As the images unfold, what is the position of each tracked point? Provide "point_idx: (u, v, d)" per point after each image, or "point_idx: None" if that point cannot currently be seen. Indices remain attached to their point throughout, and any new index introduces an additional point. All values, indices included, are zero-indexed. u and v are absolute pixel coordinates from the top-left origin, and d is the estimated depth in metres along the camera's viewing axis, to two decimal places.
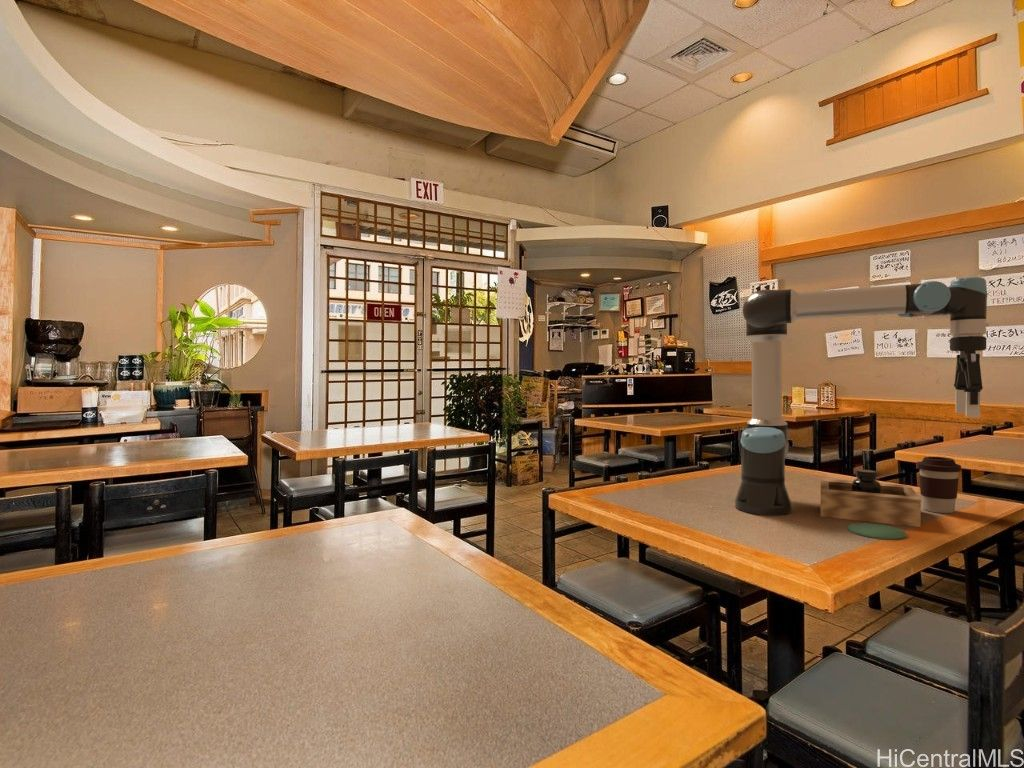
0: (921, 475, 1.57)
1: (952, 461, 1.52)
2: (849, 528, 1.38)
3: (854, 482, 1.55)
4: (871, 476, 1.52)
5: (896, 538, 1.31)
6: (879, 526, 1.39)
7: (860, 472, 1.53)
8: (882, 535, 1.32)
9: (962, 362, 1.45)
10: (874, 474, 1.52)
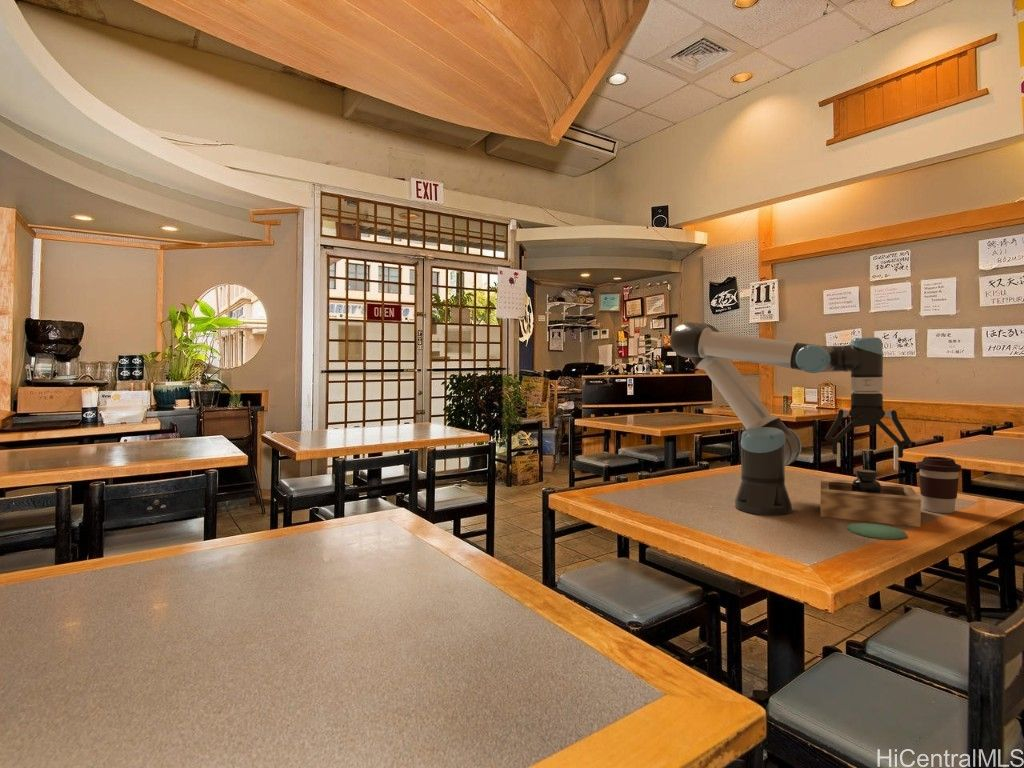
0: (921, 475, 1.57)
1: (952, 461, 1.52)
2: (849, 528, 1.38)
3: (854, 482, 1.55)
4: (871, 476, 1.52)
5: (896, 538, 1.31)
6: (879, 526, 1.39)
7: (860, 472, 1.53)
8: (882, 535, 1.32)
9: None
10: (874, 474, 1.52)
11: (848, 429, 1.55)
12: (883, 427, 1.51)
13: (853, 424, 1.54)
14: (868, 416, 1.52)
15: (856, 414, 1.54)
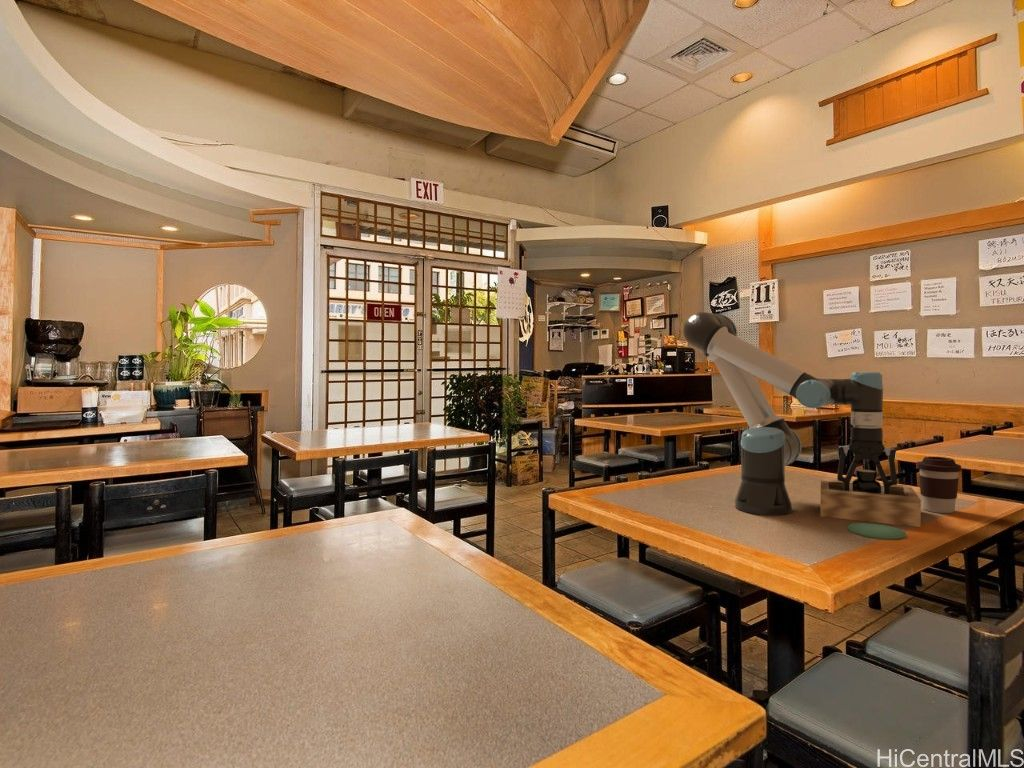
0: (921, 475, 1.57)
1: (952, 461, 1.52)
2: (849, 528, 1.38)
3: (854, 482, 1.55)
4: (871, 476, 1.52)
5: (896, 538, 1.31)
6: (879, 526, 1.39)
7: (860, 472, 1.53)
8: (882, 535, 1.32)
9: None
10: (874, 474, 1.52)
11: (854, 466, 1.54)
12: (877, 464, 1.52)
13: (857, 460, 1.54)
14: (868, 449, 1.53)
15: (856, 447, 1.54)
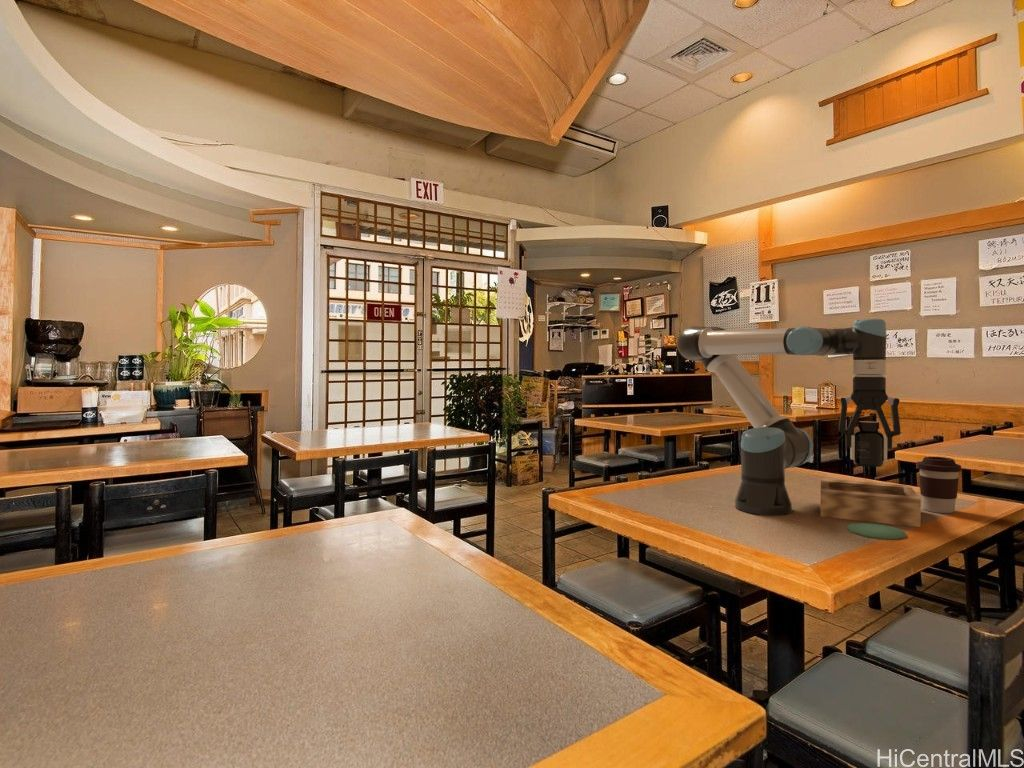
0: (921, 475, 1.57)
1: (952, 461, 1.52)
2: (849, 528, 1.38)
3: (856, 433, 1.50)
4: (874, 426, 1.47)
5: (896, 538, 1.31)
6: (879, 526, 1.39)
7: (863, 423, 1.49)
8: (882, 535, 1.32)
9: None
10: (877, 424, 1.47)
11: (857, 417, 1.49)
12: (880, 414, 1.47)
13: (860, 410, 1.49)
14: (871, 399, 1.48)
15: (859, 397, 1.49)
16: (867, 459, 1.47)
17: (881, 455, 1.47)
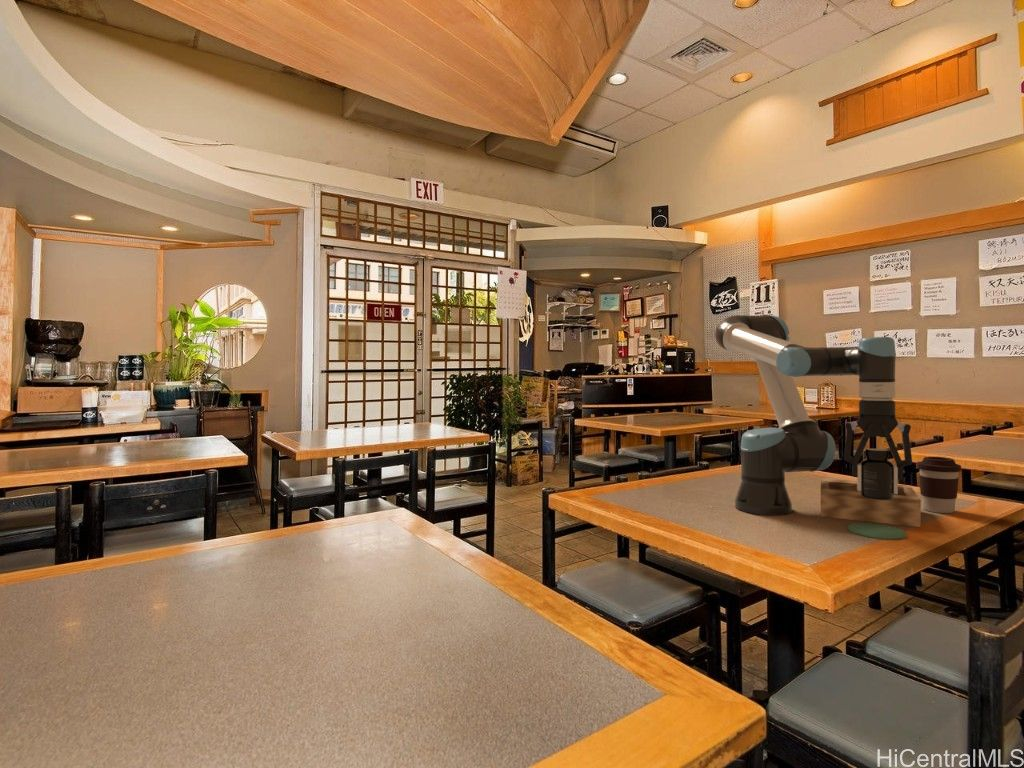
0: (921, 475, 1.57)
1: (952, 461, 1.52)
2: (849, 528, 1.38)
3: (863, 462, 1.36)
4: (882, 455, 1.34)
5: (896, 538, 1.31)
6: (879, 526, 1.39)
7: (870, 451, 1.35)
8: (882, 535, 1.32)
9: None
10: (886, 453, 1.34)
11: (863, 444, 1.36)
12: (889, 441, 1.34)
13: (866, 437, 1.35)
14: (878, 425, 1.35)
15: (865, 423, 1.36)
16: (874, 491, 1.34)
17: (891, 487, 1.33)
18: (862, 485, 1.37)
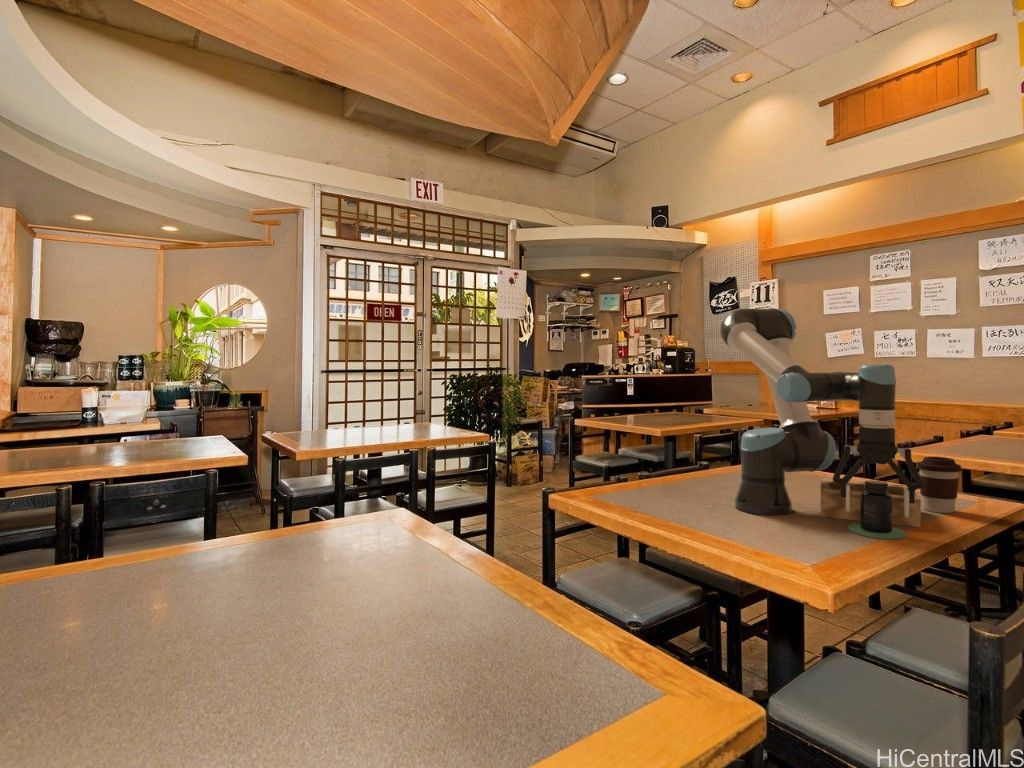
0: (921, 475, 1.57)
1: (952, 461, 1.52)
2: (849, 528, 1.38)
3: (862, 495, 1.37)
4: (882, 488, 1.34)
5: (896, 538, 1.31)
6: None
7: (869, 484, 1.36)
8: (882, 535, 1.32)
9: None
10: (885, 486, 1.34)
11: (857, 468, 1.37)
12: (894, 467, 1.33)
13: (862, 463, 1.36)
14: (878, 453, 1.35)
15: (865, 450, 1.36)
16: (874, 524, 1.34)
17: (890, 520, 1.33)
18: (861, 517, 1.37)
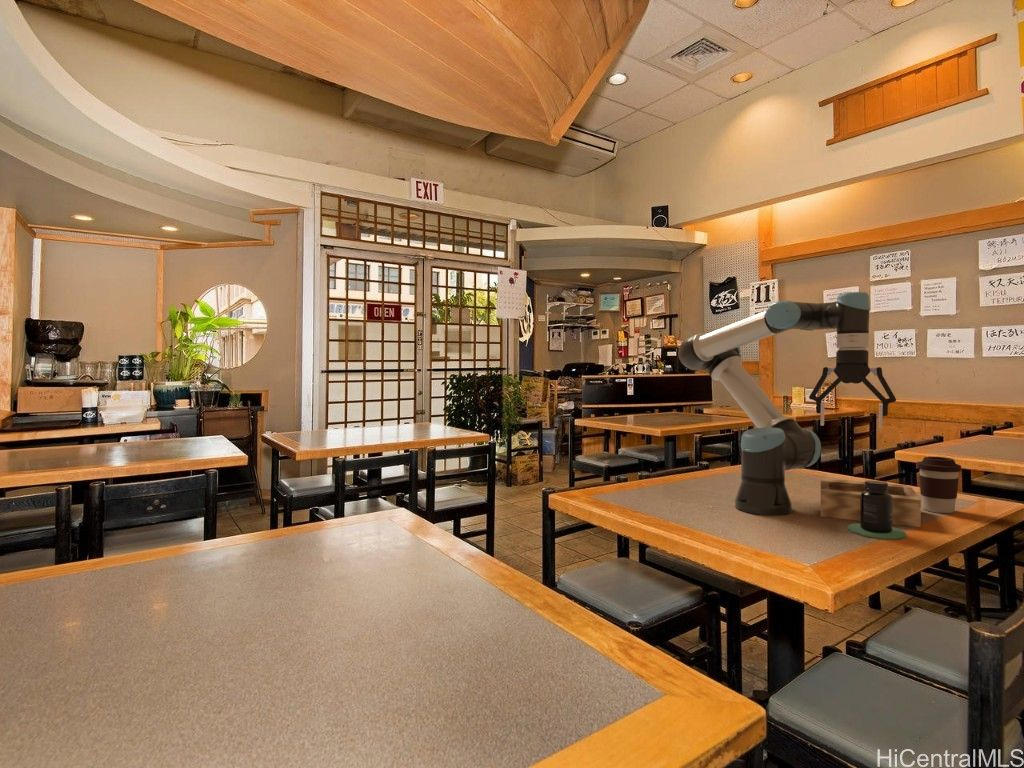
0: (921, 475, 1.57)
1: (952, 461, 1.52)
2: (849, 528, 1.38)
3: (862, 495, 1.37)
4: (882, 488, 1.34)
5: (896, 538, 1.31)
6: None
7: (869, 484, 1.36)
8: (882, 535, 1.32)
9: None
10: (885, 486, 1.34)
11: (832, 387, 1.51)
12: (868, 384, 1.47)
13: (837, 382, 1.50)
14: (853, 373, 1.49)
15: (841, 372, 1.50)
16: (874, 524, 1.34)
17: (890, 520, 1.33)
18: (861, 517, 1.37)
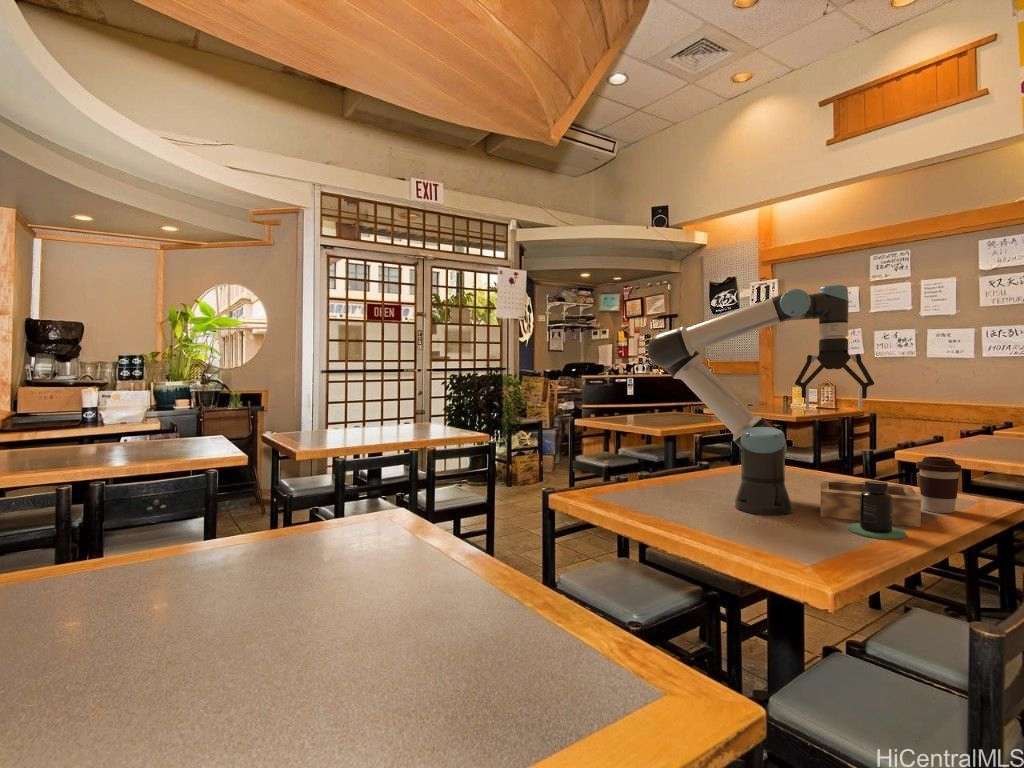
0: (921, 475, 1.57)
1: (952, 461, 1.52)
2: (849, 528, 1.38)
3: (862, 495, 1.37)
4: (882, 488, 1.34)
5: (896, 538, 1.31)
6: None
7: (869, 484, 1.36)
8: (882, 535, 1.32)
9: None
10: (885, 486, 1.34)
11: (816, 373, 1.64)
12: (848, 370, 1.60)
13: (820, 368, 1.63)
14: (834, 360, 1.61)
15: (823, 359, 1.63)
16: (874, 524, 1.34)
17: (890, 520, 1.33)
18: (861, 517, 1.37)
